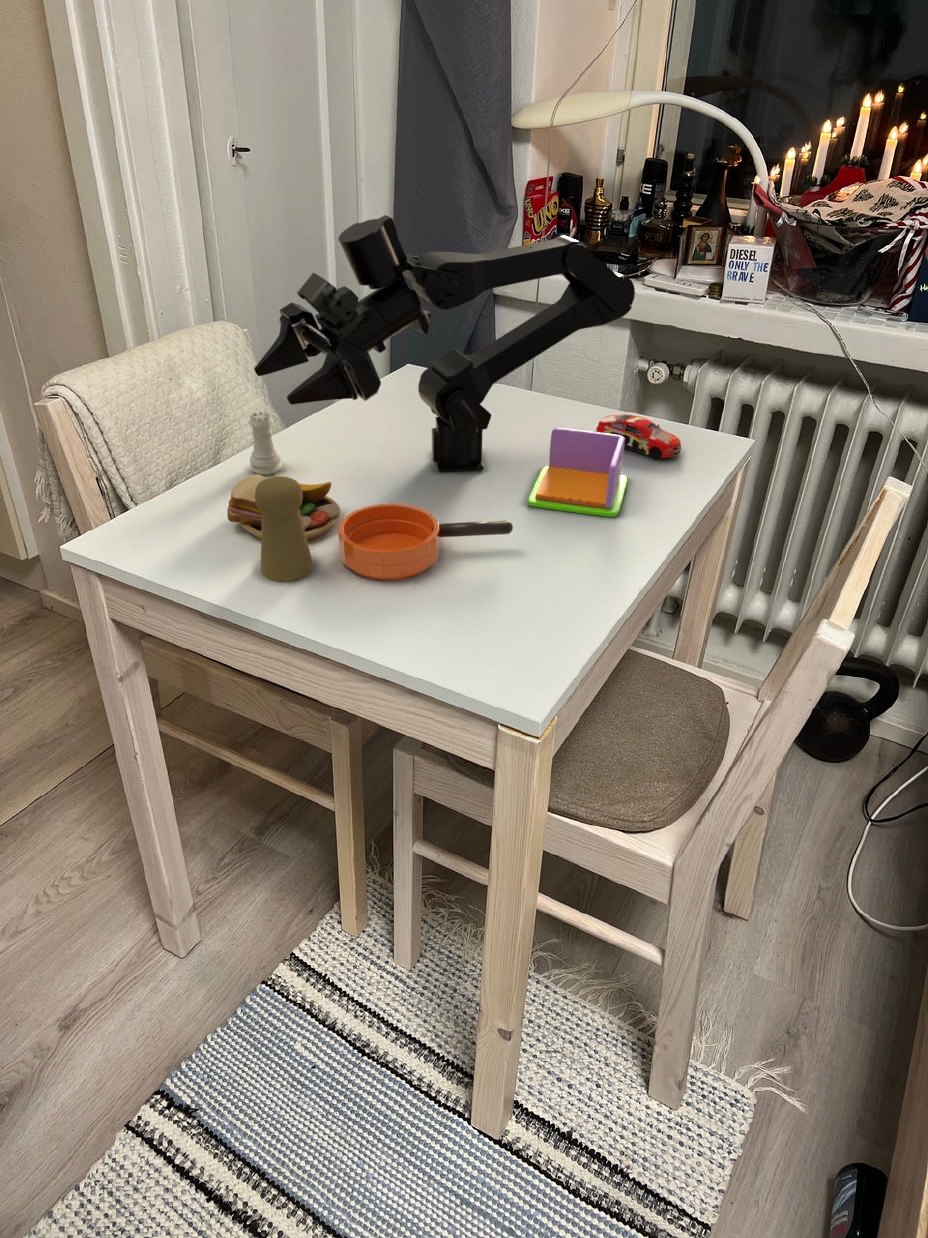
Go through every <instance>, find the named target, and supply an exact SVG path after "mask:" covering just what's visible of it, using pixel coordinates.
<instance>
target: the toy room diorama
mask: <svg viewBox="0 0 928 1238" xmlns="http://www.w3.org/2000/svg"><path fill="white" fill-rule="evenodd" d="M624 443H625V438H624V437H623V436H621V435H616V434H609V433H600V432H596V431H591V430H582V429H573V428H566V427H565V428H564V427H555V428H553V429H552V430H551V434H550V445H549V457H548V458H549V459H548V460H549V461H548V465H545V466H543V467H542V469H541V471H540V473H539V474H538V476H537V478H536V480H535V483H534V485H533V487H532V489H531V491H530V494H529V496H528V499H527V503H528V505H529V506H530V507H535V508H540V509H547V510H553V511H554V510H555V511H563V512H569V513H577V514H582V515H583V514H584V515H590V516H591V515H592V516H599V517H609V518H614V517H617V516H618V515H619V512H620V509H621V507H622V503H623V499H624V496H625V493H626V488H627V484H628V477H627V476H626V475H624V474H622V469H623V462H624V453H625V448H624Z"/></svg>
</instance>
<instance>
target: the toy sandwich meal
mask: <svg viewBox="0 0 928 1238" xmlns="http://www.w3.org/2000/svg"><path fill="white" fill-rule="evenodd" d="M275 476H276V475H273V476H272V477H275ZM267 478H268V477H266V476H264V475H259V474H256V473H254V474H251V475H248V476H246V477H244V478H242V479H240V480H239V481H238V482H237V483H236V484H235V485H234V486H233V487H232V490H231V493H230V499H229V500H228V506H227V512H226V513H227V520H228V522H230V523H239V524H240V525H241V527H242V528H243V529H245V531H247V532H249V533H250V534H252V535H253V536H255V537H256V538H259V539H261V528H262V511H261V510H260V509H259V508H258V506H257V504H256V502H255V490H256V487H257V485H258V484H259V483H260V482H261V481H263V480H265V479H267ZM298 484H299V485H300V486H301V489H302V493H303V500H302V504H301V506H300V507H299V510H300V514H301V518H302V522H303V526H304V530H305V534H306V538H307V541H309V540H311V539H314V538H317V537H319V536H321V535H323V534H325V533H326V532H328V530H330V529H331V528H332V527H333V526H334V525H335V524H336V523H337V521H338V520H339V518H340V516H341V507H340V505H339V504H338V503H337V502H336V501H335V500H334V499H332V497H329V496H328V494H329V492H330V491H331V488H332V482H331V481H328V482H324V483H316V484H315V483H313V484H306V483H299V482H298Z"/></svg>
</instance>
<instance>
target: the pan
mask: <svg viewBox="0 0 928 1238" xmlns="http://www.w3.org/2000/svg"><path fill="white" fill-rule="evenodd" d="M438 524H439V520H438V519H437V518H436V516H434V515H433V514H432V513H431V512H429V511H427V510H425V509H423V508H421V507H417V506H413V505H411V504H404V503H403V504H402V503H379V504H372V505H367V506H363V507H361V508H358V509H356V510H353V511H351V512H350V513H348V514H347V515H345V516H344V517H343V518H342V519H341V521H340V523H339V524H338V542H339V556H340V557H339V558H340V560H341V561H342V563H343V565H345V566H346V567H347V568H349V569H351V570H352V571H353V572H354V573H357V574H358V575H360V576H363V577H366V578H369V579H375V580H384V581H389V580H390V581H392V580H402V579H406V578H411V577H415V576H417V575H419V574H422V573H423V572H425V571H426V570H427V569H429V568H430V567H431V566H432V565H434V563H435V562H436V561H437V559H438V557H439V555H440V537H439V525H438ZM433 527H434V530H433V532H432V528H433Z"/></svg>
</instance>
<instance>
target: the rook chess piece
mask: <svg viewBox="0 0 928 1238" xmlns="http://www.w3.org/2000/svg"><path fill="white" fill-rule="evenodd" d="M273 422H274V420H273V419H272V418H271V415H270V413H269V412H268V411H264V412H263V410H260V411H259V410H258V414H257V412H256V411H254V412H252V413H251V414H250V418H249V420H248V425H250V426H251V427H252V430H251V434H252V437H253V451H252V452H251V456H250V457H249V463H250V465H249V469H250V470H251V471H252V472H253V473H254V474H259V475H262V476H270V475H274V474H277V473H278V472H280V470H281V469H282V468H283V463H282V462H281V461H282V458H281V455H280V454H279V453H278V451H277V450H276V448H275V446H274V441H273V438H272V437H273V436H272V433H273V429H271V426H272V424H273Z"/></svg>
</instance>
